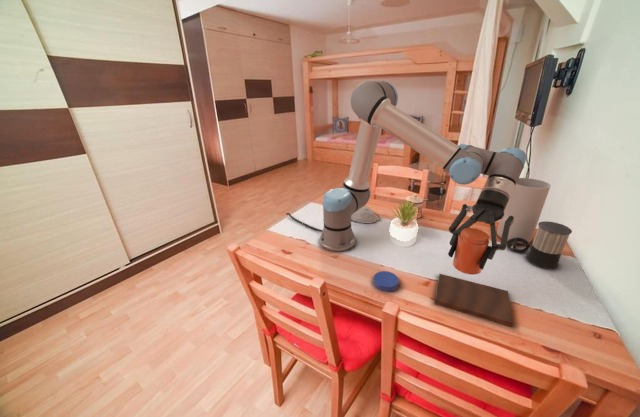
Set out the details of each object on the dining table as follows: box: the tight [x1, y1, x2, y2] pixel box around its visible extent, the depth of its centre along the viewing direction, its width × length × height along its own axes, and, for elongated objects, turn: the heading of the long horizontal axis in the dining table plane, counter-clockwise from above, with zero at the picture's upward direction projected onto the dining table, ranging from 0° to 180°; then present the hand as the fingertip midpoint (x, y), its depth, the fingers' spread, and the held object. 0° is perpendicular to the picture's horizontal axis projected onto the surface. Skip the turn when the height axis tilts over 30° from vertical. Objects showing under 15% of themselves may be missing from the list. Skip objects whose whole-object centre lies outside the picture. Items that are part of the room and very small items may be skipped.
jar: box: [452, 227, 490, 276], centre depth 78 cm, size 8×8×12 cm
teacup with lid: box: [404, 193, 425, 219], centre depth 136 cm, size 12×9×12 cm
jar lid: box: [373, 270, 400, 292], centre depth 90 cm, size 8×8×2 cm
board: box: [434, 273, 514, 327], centre depth 82 cm, size 20×14×2 cm
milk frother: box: [506, 220, 573, 270], centre depth 98 cm, size 14×16×15 cm
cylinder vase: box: [496, 177, 551, 245], centre depth 109 cm, size 12×12×25 cm
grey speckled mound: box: [351, 205, 380, 224], centre depth 138 cm, size 16×25×7 cm, turn 47°
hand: (464, 261), depth 76 cm, fingers closed on jar, 8 cm apart
